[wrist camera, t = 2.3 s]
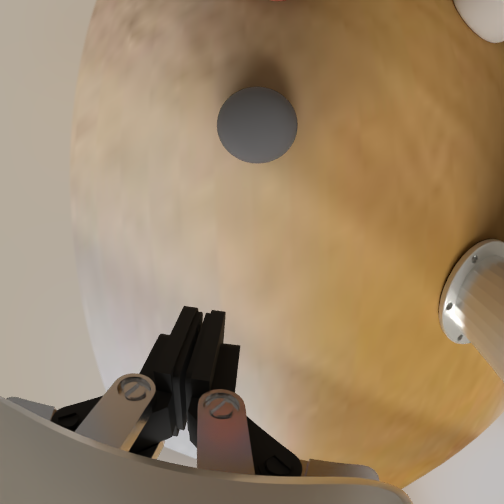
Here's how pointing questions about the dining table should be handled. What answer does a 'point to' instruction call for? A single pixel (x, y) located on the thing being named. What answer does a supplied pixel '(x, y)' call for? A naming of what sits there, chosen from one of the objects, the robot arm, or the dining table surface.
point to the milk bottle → (483, 17)
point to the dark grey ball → (257, 125)
